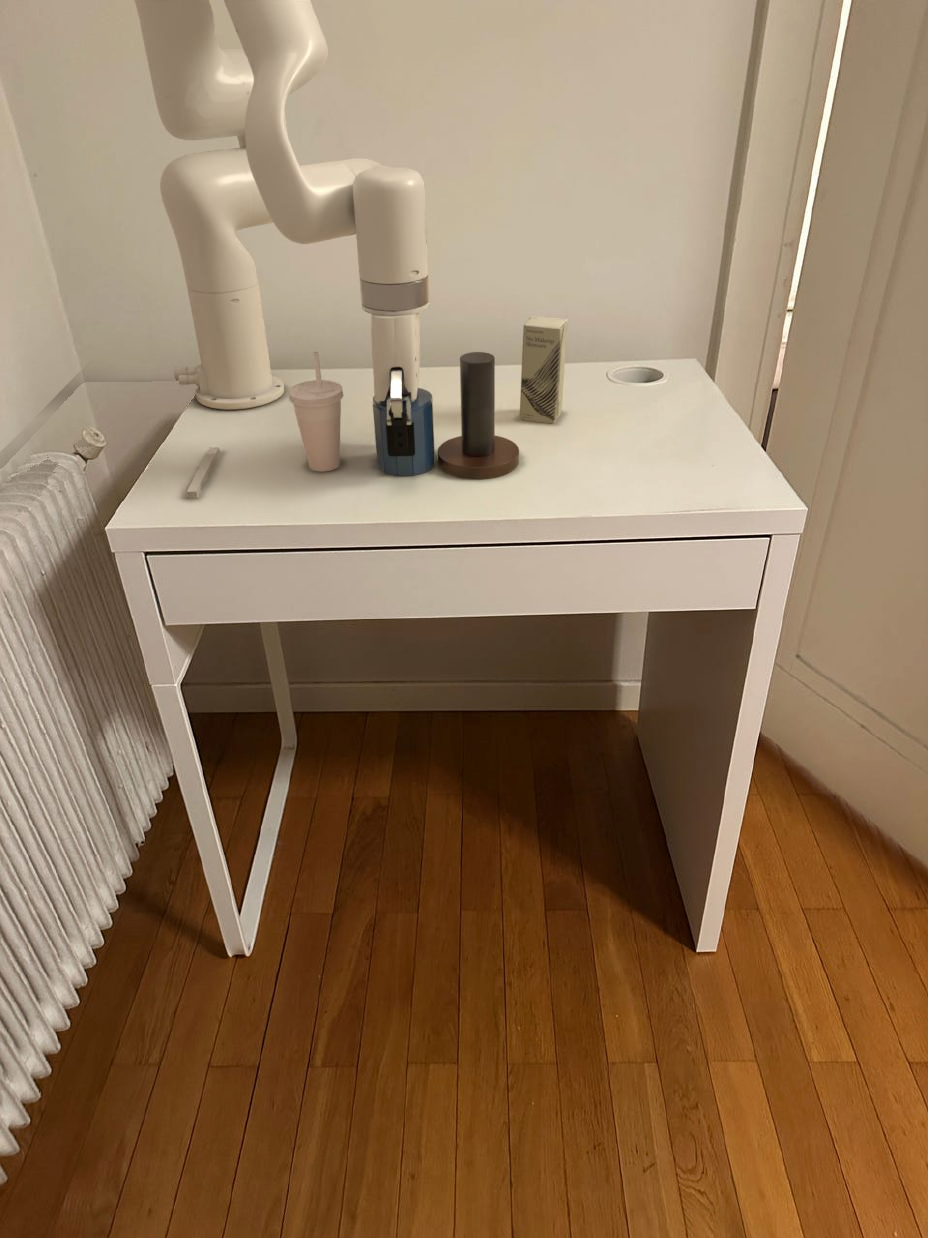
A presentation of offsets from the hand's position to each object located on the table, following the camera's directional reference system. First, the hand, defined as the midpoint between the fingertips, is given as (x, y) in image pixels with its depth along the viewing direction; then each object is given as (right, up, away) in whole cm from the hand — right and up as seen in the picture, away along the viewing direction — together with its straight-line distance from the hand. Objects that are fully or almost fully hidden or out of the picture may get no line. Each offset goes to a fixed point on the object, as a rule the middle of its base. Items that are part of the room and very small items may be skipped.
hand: (403, 438), depth 109 cm
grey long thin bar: (-24, -5, 0) cm, 25 cm away
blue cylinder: (0, -3, +2) cm, 3 cm away
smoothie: (-10, -3, +2) cm, 10 cm away
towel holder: (+9, -2, +2) cm, 10 cm away
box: (+18, +6, +13) cm, 23 cm away
